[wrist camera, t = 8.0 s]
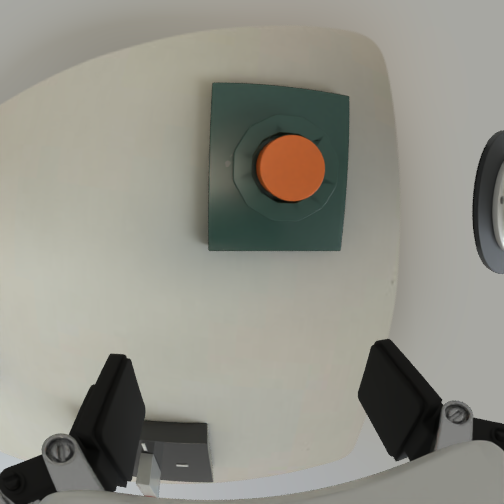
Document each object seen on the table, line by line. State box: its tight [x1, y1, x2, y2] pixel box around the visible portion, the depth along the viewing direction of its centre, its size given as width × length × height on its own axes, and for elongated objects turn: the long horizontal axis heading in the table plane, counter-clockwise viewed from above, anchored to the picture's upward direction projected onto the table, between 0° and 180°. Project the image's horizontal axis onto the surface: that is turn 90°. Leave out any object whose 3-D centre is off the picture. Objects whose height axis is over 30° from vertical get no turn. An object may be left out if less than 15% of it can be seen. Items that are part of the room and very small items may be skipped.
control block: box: [208, 83, 349, 251], centre depth 19 cm, size 10×12×3 cm
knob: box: [136, 453, 161, 498], centre depth 23 cm, size 5×2×5 cm, turn 178°
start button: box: [256, 135, 325, 201], centre depth 17 cm, size 4×4×2 cm
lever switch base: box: [133, 421, 213, 482], centre depth 26 cm, size 14×10×3 cm
